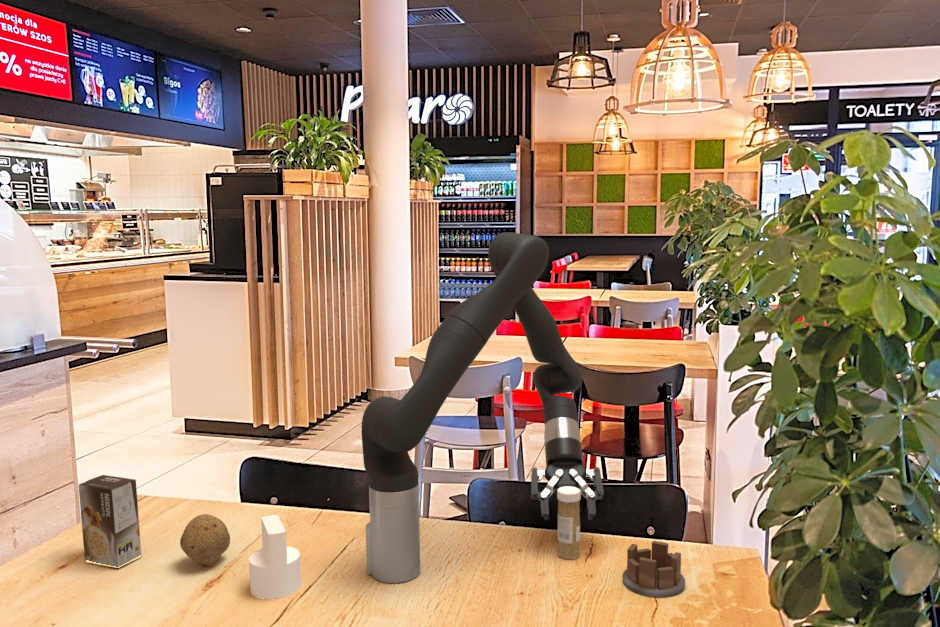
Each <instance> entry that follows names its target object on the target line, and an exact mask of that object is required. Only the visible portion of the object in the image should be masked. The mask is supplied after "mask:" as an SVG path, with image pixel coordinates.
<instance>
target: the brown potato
mask: <svg viewBox="0 0 940 627" xmlns="http://www.w3.org/2000/svg"><path fill="white" fill-rule="evenodd" d="M179 540H180V542H179V544H180V548H181V550H182V551H183V552H184V554H185V555H186V556H187V557H188V558H190V559H191V560H193V561H194V562H196V563H198V564H199V565H201V566H204V565H210V566H212V565H214V564H215V563H216V562H217V561H218V559H219V558H220V557H221V556H223V554H224V553H225V552H226V551H227V550H228V548H229V547H230V543H231V535H230V533H229V530H228V527H227V526H226V524H225V522H223V520H221V519H220V518H219V517H217V516H215V515H213V514H205V513H204V514H199V515H197V516H195V517H193V518H192V519H191V520H189V522H188V523H187V525H186V526H185V528H184V530H183V532H182V535H181V536H180V539H179ZM211 564H212V565H211Z"/></svg>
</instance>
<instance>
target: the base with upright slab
mask: <svg viewBox="0 0 940 627" xmlns="http://www.w3.org/2000/svg"><path fill="white" fill-rule="evenodd" d="M260 521H261V538H262V539H261V542H262V548H261V549H258V550H256V551H254V552H253V553H252V554H250V556H249V558H248V569H249V585H250V587H249V588H250V594H251V593H252V594H253V595H255V596H256V597H259V598H264V599H275V600H277V599H276V598H281V599H283V598H282V597H285V598H287V597H286V596H288V597H290V596H289V595H291V594H293V593H295V592H296V591H297V590H298V589H299V588H300V587H301V588H302V570H301V567H302V566H301V553H300V550H299V549H297V548H295V547H293V546H288V545H287V530H286V529H285V527H284V524H283V522H282V521H281V519H280V517H279V515H278V514H273V515H266V516H262V517H261V518H260ZM301 588H300V589H301ZM300 589H299V590H300ZM299 590H298V591H299ZM298 591H297V592H298ZM297 592H296V593H297ZM296 593H295V594H296ZM252 594H251V595H252ZM253 595H252V596H253ZM293 595H294V594H293ZM291 596H292V595H291ZM256 597H255V598H256ZM259 598H258V599H259ZM264 599H263V600H264Z"/></svg>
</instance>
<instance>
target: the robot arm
mask: <svg viewBox="0 0 940 627" xmlns="http://www.w3.org/2000/svg"><path fill="white" fill-rule="evenodd" d="M487 256H488V262H489V264H490V268H491V269H492V271H493V273H494V275H495V277H496V278H495V279H494V280H493V281H492V282H491V283H489V285H487V286H486V287H485V288H483V289H481V290H480V291H478V292H477V293H474V294H472V296H469V297H468V298H466V299H465V300H463V301H462V302H461V303H459V304H458V305H457V306H454V308H453V309H452V310H451V311H450V312H449V313H448V314H447V315H446V317H444V319H443V321H442V322H441V323H440V324H439V326H438V327H437V329H435V331H434V333H433V334H432V336H431V338H430V340H429V343H428V346H427V349H426V354H425V359H424V363H423V367H422V370H421V372H420V374H419V376H418V377H417V379H416V381H415V382H414V383H413V385H412V386H411V387H410V389H409V390H408V391H407V392H406V393H405V395H404V396H403V397H402V398H401V399H397V398H395V397H392V396H380V397H376V398H375V399H373V400H372V401H370V402H369V403H368V405H367V406H366V408H365V410H364V411H363V415H362V419H361V443H362V456H363V458H362V460H363V466H364V469H365V472H366V475H367V478H368V479H367V480H368V499H369V500H368V501H369V502H368V503H369V504H368V505H369V522H367V523H366V525H365V548H366V549H365V551H366V554H365V555H366V556H365V557H366V574H368V575H371V577H372V578H373V579H375V580H376V581H378V582H381V583H382V582H383V583H388V584H399V583H404V582H408V581H411V580H413V579H415V578H417V577H418V576H419V575H420V574H421V536H420V533H421V532H420V531H421V530H420V527H421V526H420V491H419V489H420V488H419V487H420V485H419V470H418V467H417V466H416V465H415V463H414V462H413V460H412V458H411V456H410V455H409V452H410V451H412V450H413V449H415V448H416V447H417V446H418V445H419V444H420V442H421V441H422V440H423V439H424V437H425V436H426V433H427V432H428V431H429V429H430V427H431V425H432V424H433V422H434V420H435V418H436V417H437V415H438V414H439V411H440V410H441V408H442V406H443V404H444V403H445V402H446V400H447V398H448V397H449V395H450V394H451V392H453V389H455V386H456V385H457V383H458V382H460V379H461V378H462V377H463V375H464V374H465V372H466V371H467V370H468V368H469V367H470V366H471V364H472V363H474V360H475V359H476V358H477V356H479V354H480V352H481V351H482V350H483V349H484V347H485V345H486V344H487V343H488V341H489V339H491V337H492V335H493V333H495V331H496V330H497V329H498V327H499V326H500V324H501V323H502V322H503V321H504V319H505V318H506V317H507V316H508V314H509V313H510V311H511V310H512V309H514V312H515V314H516V315H517V317H518V320H519V322H520V324H521V326H522V329H523V331H524V335H525V337H526V340H527V344H528V347H529V349H530V351H531V355H532V356H533V357H532V358H534V360H535V361H537V362H538V363H540V364H541V363H542V364H541V365H539V366H537V367H536V368H535V370H534V372H533V376H532V378H533V383H534V387H535V389H536V392H537V393H538V396H539V398H540V402H541V405H542V410H543V419H544V420H543V422H544V433H543V434H544V438H543V440H544V441H543V444H544V451H545V452H544V453H545V454H544V455H545V469H538V468H537V467H536V466H535V467H532V468H531V474H530V475H531V476H530V477H531V478H530V479H531V480H530V481H531V483H530V498H531V500H533V501H538V502H539V503H540V514H541V517H542V518H544V520H545V521H549V519H550V509H549V498H550V497H551V496H552V495H553V494H554V492H555V491H557V490H558V488H560V487H564V486H572V487H576V488H579V489H580V491H581V496H582V497H584V498H585V500H586V507H587V508H586V509H587V518H588V521H593V519H594V518H595V516H596V514H597V509H596V508H597V507H596V501H597V500H599V501H601V500H602V499H603V496H604V493H605V492H604V486H603V481H602V475H601V470H600V467H598V466H595V467H594V468H593V469H586V467H585V466H584V458H583V449H582V440H581V431H580V428H579V423H578V422H579V421H578V412H577V409H578V408H577V406H576V405H577V404H576V402H575V400H574V399H573V398H571V397H568V396H564V395H561V394H567V393H571V392H575V391H577V390H579V389H580V387H581V386H582V383H583V374H582V370H581V368H580V367H579V365H578V364H577V362H576V361H575V359H574V358H573V357H572V356H571V354H570V353H569V351H568V349H567V348H566V347H565V345H564V342H563V339H562V336H561V333H560V330H559V328H558V327H559V326H558V324H557V322H556V320H555V317H554V316H553V314H552V313H551V311H550V309H549V308H548V307H547V305H546V304H545V303H544V302H543V301H542V300H541V299H540V297H539V296H538V294H537V293H536V292H535V290H534V289H533V287H532V286H533V285H534V284H535V283H536V282H537V281H538V279H540V277H541V276H542V274H543V272H544V271H545V269H546V267H547V265H548V263H549V257H550V249H549V246H548V243H547V241H545V240H544V239H543V238H542V237H539V236H536V235H532V234H525V233H519V232H509V231H508V232H500V233H498V234H497V235H495V236H494V237H493V239H492V240H491V241H490V243H489V247H488V253H487ZM543 477H544V478H545V479H546V480H547V482H548V483H547V484H546V486H545V487H544V489H543V490H542V491H538V489H539V488H538V487H539V486H538V484H539V482H541V481H542V478H543ZM586 477H589V479H590V481H593V487H594V490H595V491H593V490H592V489H591V488H590V487H589V485H588V483H587V481H585V479H586Z"/></svg>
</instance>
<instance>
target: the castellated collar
mask: <svg viewBox="0 0 940 627" xmlns="http://www.w3.org/2000/svg"><path fill="white" fill-rule="evenodd" d="M626 552H627V554H626V555H627V559H626V560H627V561H626V562H627V563H626V569H625V570H624V571H623V573H622V584H623V586H624V587H625V588H627V589H628V590H629V591H631V592H632V593H635V594H638V595H640V596H644V597H649V598H657V599H658V598H662V599H663V598H669V597H670V598H671V597H674V596H678V595H679V594H681V593H683V592H684V590H685V588H686V579H685V576H684V575H683V574H682V568H681V567H682V553H681V552H679V551H678V552H677V551H674V553H673V552H669V543H667V542H662V541H658V540H657V541H656V540H653V541H652V542H651V549H650V548H642V549H638V544H637V543H636V544H635V543H631V544H630V546H629V547H628V548H627V551H626Z"/></svg>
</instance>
